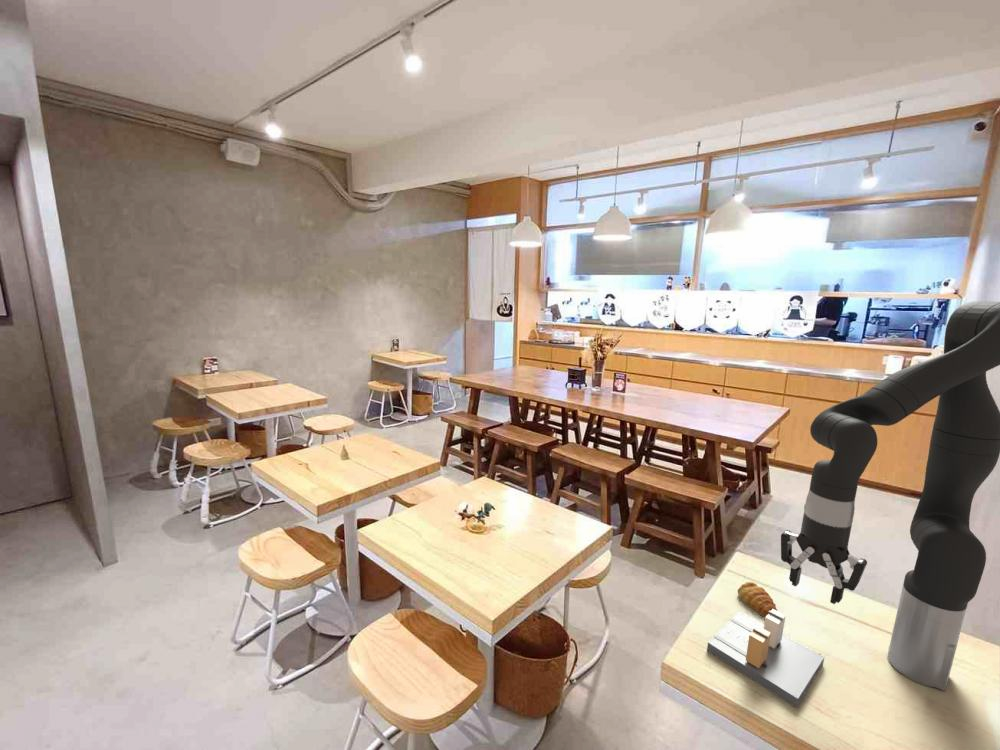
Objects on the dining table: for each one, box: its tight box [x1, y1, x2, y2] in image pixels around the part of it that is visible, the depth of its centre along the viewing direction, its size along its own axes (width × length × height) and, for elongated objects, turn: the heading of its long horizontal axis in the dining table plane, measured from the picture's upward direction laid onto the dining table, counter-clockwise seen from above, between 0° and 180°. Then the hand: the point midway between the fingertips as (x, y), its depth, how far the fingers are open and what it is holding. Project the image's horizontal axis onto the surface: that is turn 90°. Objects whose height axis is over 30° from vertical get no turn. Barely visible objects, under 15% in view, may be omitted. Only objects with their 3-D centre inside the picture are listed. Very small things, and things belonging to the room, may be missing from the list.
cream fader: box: [763, 609, 786, 649], centre depth 96 cm, size 3×4×6 cm, turn 129°
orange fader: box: [746, 626, 771, 668], centre depth 91 cm, size 3×4×6 cm, turn 130°
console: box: [706, 610, 825, 709], centre depth 95 cm, size 17×16×2 cm
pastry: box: [737, 581, 778, 618], centre depth 110 cm, size 9×7×4 cm
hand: (813, 592), depth 89 cm, fingers open, 6 cm apart
